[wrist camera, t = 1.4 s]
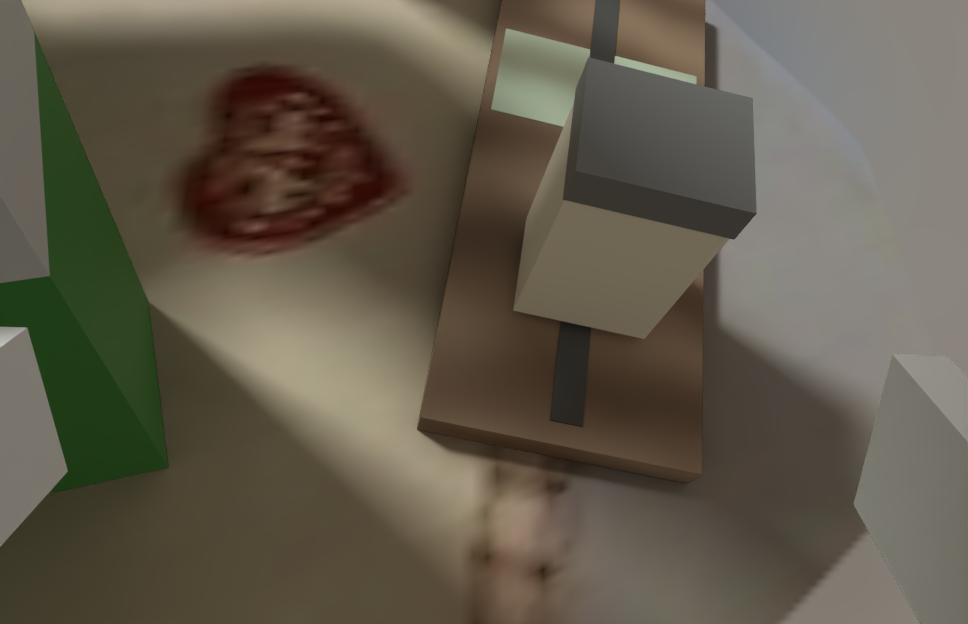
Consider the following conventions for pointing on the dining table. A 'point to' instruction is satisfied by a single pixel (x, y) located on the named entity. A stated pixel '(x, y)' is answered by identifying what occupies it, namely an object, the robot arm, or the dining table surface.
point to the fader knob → (635, 199)
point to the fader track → (497, 252)
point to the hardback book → (71, 277)
